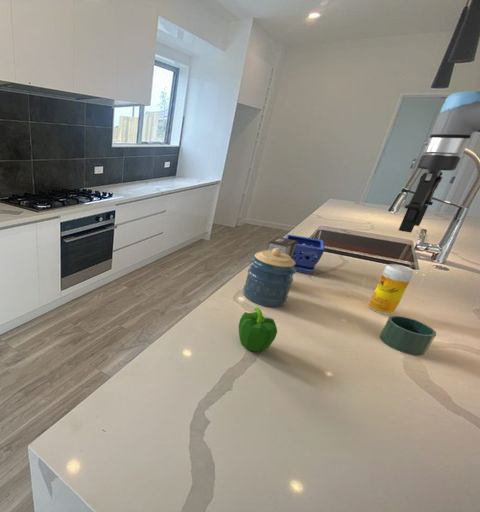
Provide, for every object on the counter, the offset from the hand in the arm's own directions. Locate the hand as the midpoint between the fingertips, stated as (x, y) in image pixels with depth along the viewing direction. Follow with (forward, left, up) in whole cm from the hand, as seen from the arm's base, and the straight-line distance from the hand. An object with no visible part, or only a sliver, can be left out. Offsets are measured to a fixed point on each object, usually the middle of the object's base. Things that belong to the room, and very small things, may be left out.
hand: (409, 228), depth 91 cm
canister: (+36, +16, -26) cm, 46 cm away
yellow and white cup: (+2, +8, -26) cm, 27 cm away
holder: (+4, +27, -25) cm, 37 cm away
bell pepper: (+41, +45, -26) cm, 66 cm away
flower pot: (+21, -18, -26) cm, 38 cm away
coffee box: (+32, +1, -26) cm, 41 cm away
